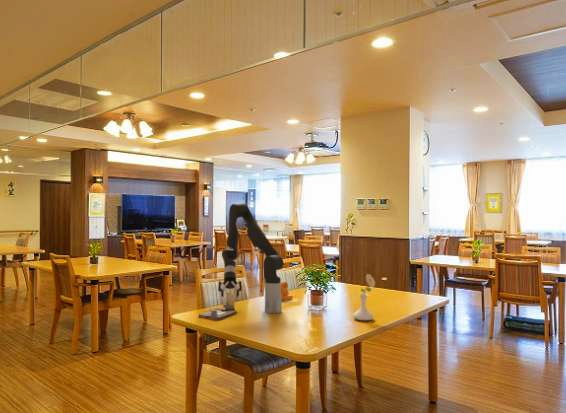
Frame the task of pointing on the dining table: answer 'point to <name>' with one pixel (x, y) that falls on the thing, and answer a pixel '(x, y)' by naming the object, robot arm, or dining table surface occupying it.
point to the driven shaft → (214, 313)
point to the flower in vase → (363, 312)
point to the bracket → (285, 291)
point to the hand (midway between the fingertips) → (230, 296)
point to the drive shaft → (225, 307)
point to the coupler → (230, 301)
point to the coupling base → (218, 314)
